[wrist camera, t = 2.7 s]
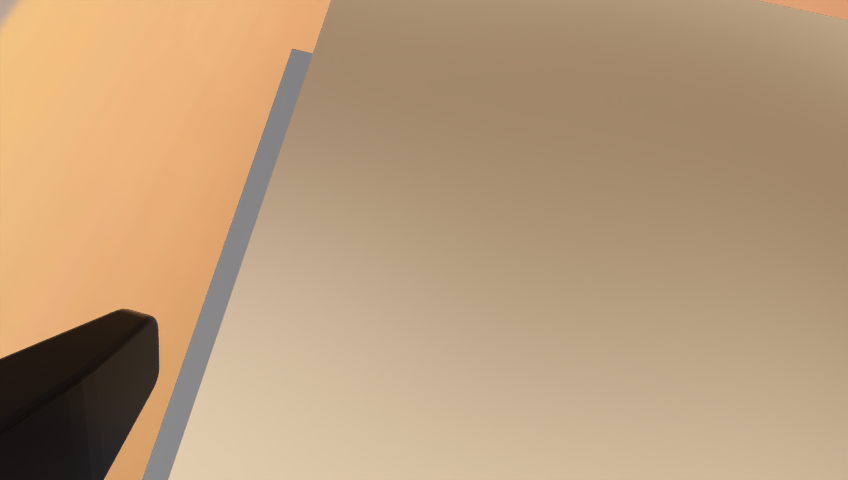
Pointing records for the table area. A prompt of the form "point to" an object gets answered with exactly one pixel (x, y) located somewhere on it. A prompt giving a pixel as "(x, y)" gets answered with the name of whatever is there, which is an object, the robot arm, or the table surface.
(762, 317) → the birch block
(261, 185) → the slate tile
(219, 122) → the table surface
